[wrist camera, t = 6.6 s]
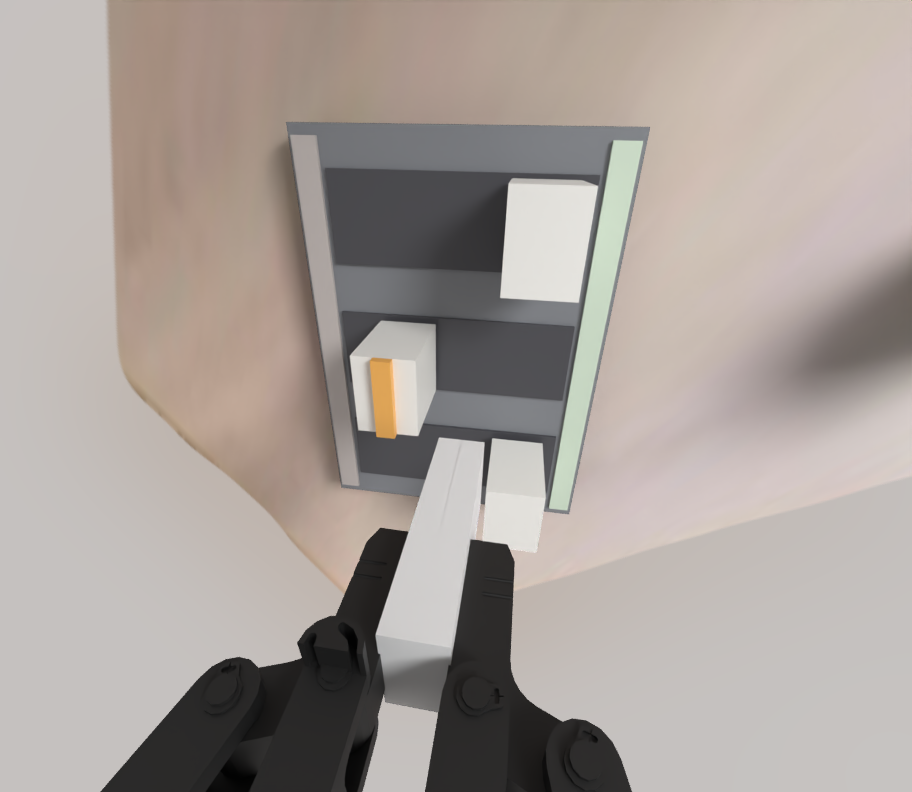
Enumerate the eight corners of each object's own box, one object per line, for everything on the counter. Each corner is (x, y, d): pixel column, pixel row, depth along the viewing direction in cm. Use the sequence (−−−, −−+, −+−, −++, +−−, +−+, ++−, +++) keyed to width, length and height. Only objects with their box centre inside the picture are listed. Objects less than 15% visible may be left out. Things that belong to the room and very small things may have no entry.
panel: (305, 124, 21) (284, 121, 19) (639, 129, 19) (651, 126, 17) (351, 469, 32) (340, 489, 30) (566, 493, 30) (569, 516, 28)
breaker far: (492, 438, 25) (486, 491, 21) (542, 443, 25) (545, 498, 21) (488, 488, 27) (482, 545, 23) (534, 493, 27) (536, 552, 23)
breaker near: (512, 178, 18) (508, 183, 14) (582, 179, 18) (598, 186, 14) (505, 270, 20) (500, 297, 16) (567, 273, 20) (578, 302, 16)
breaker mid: (381, 320, 23) (346, 359, 18) (435, 324, 22) (413, 364, 18) (385, 385, 25) (355, 434, 20) (435, 390, 24) (416, 441, 20)
